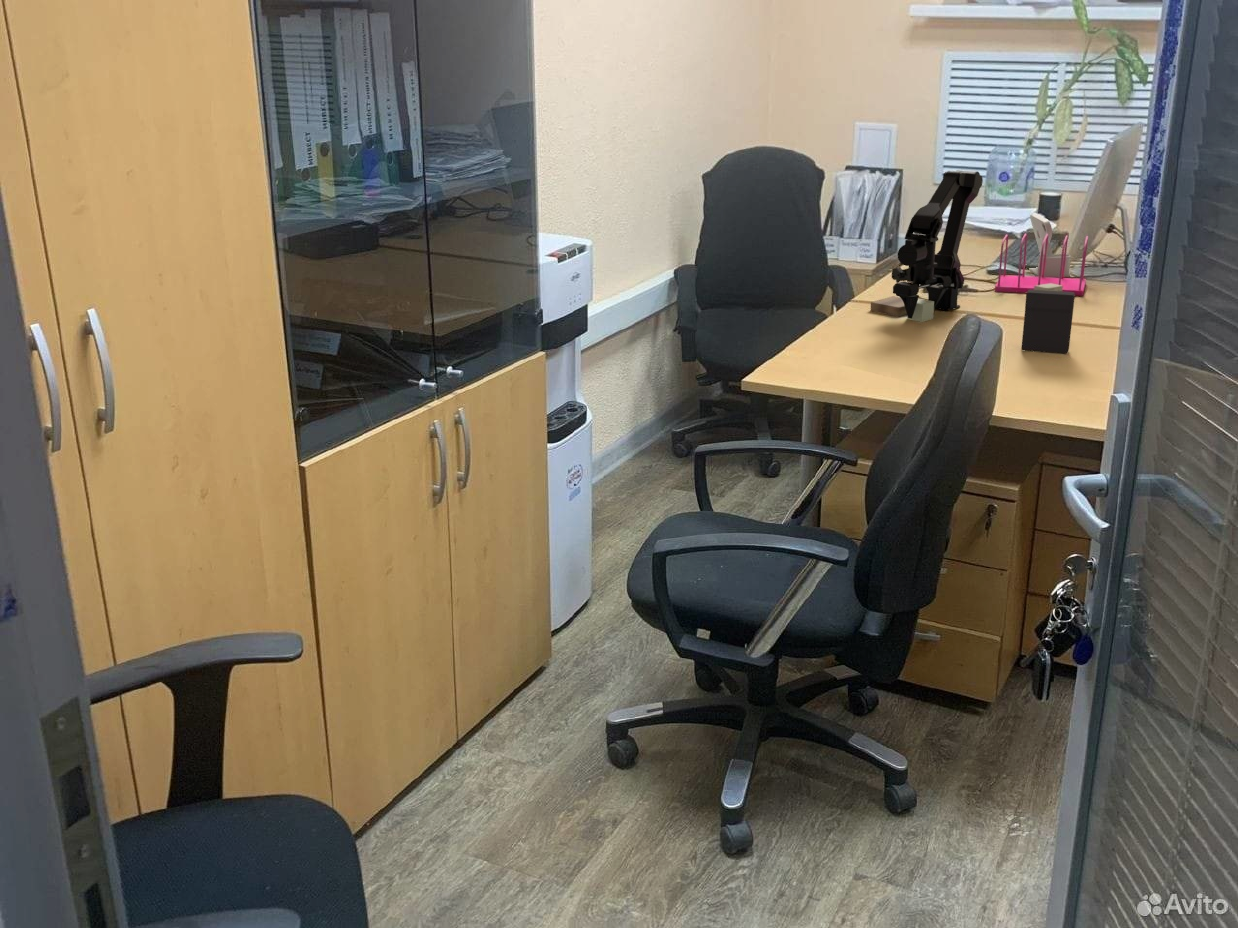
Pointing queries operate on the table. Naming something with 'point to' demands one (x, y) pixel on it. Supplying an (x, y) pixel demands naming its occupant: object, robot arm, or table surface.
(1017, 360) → the table surface
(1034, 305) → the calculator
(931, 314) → the sage cube
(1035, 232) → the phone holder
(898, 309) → the walnut block
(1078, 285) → the file sorter
